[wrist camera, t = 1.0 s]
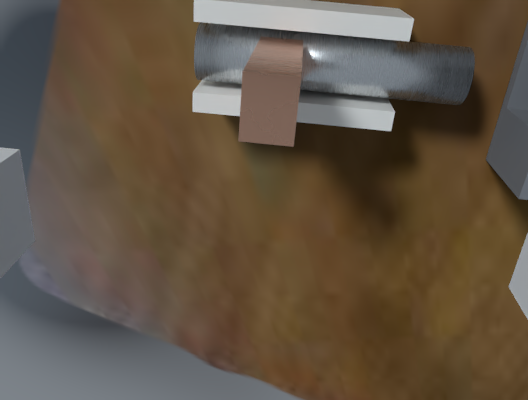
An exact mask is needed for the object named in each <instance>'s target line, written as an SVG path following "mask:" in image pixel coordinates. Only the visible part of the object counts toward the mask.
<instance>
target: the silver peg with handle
mask: <svg viewBox="0 0 528 400" xmlns="http://www.w3.org/2000/svg"><path fill="white" fill-rule="evenodd" d="M474 65H475V59H474V52H473V50H472V48H471V47H463V46H452V45H441V44H431V43H420V42H408V41H397V40H386V39H376V38H365V37H354V36H343V35H333V34H322V33H311V32H300V31H290V30H279V29H268V28H258V27H247V26H236V25H225V24H215V23H204V22H200V24H199V26H198V29H197V33H196V40H195V51H194V66H195V75H196V78H197V80H204V81H215V82H225V83H235V84H242V88H241V105H240V123H239V140H238V141H241V142H251V143H261V144H271V145H281V146H291V147H294V139H295V130H296V121H297V112H298V103H299V94H300V90H307V91H317V92H328V93H338V94H348V95H358V96H369V97H379V98H389V99H400V100H410V101H420V102H430V103H441V104H451V105H461V104H462V103H463V102H464V100H465V99H466V97H467V95H468V92H469V90H470V87H471V83H472V79H473V74H474Z"/></svg>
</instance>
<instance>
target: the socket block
mask: <svg viewBox="0 0 528 400" xmlns="http://www.w3.org/2000/svg"><path fill="white" fill-rule="evenodd" d="M486 160H487V162H488V163H489V164H490V165H491V166H492V168H493V169H494V170H495V171H496V172H497V174H498V175H499V176H500V177H501V178H502V180H503V181H504V182H505V183H506V184H507V186H508V187H509V188H510V189H511V190H512V192H513V193H514V194H515V195H516V196H517V198H518V199H524V200H528V22H527V25H526V29H525V32H524V35H523V39H522V42H521V45H520V49H519V52H518V55H517V58H516V62H515V65H514V68H513V72H512V75H511V78H510V82H509V85H508V88H507V91H506V95H505V98H504V101H503V105H502V108H501V111H500V115H499V118H498V121H497V124H496V128H495V131H494V134H493V138H492V141H491V144H490V148H489V151H488V154H487V157H486Z"/></svg>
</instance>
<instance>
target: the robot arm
mask: <svg viewBox="0 0 528 400" xmlns="http://www.w3.org/2000/svg"><path fill="white" fill-rule="evenodd" d="M34 242H35V236H34V230H33V224H32V219H31V213H30V207H29V201H28V195H27V189H26V184H25V178H24V172H23V166H22V160H21V155H20V150H19V149H9V148H0V278H1V277H2V276H3V275H4V274H5V273H6V272H7V271H8V270H9V269H10V268H11V267H12V265H13V264H14V263H15V262H16V261H17V260H18V259H19V258H20V257H21V256H22V255H23V254H24V253H25V251H26V250H27V249H28V248H29V247H30V246H31V245H32V244H33V243H34ZM509 289H510V290H511V292H512V294H513V295H514V297H515V299H516V300H517V302H518V304H519V306H520V307H521V309H522V311H523V312H524V314H525V316H526V317H527V319H528V233H527V236H526V239H525V242H524V245H523V248H522V250H521V253H520V256H519V259H518V262H517V264H516V267H515V270H514V273H513V276H512V279H511V281H510V284H509Z"/></svg>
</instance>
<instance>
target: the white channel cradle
mask: <svg viewBox="0 0 528 400" xmlns="http://www.w3.org/2000/svg"><path fill="white" fill-rule="evenodd" d="M194 22H204V23H215V24H225V25H236V26H247V27H258V28H268V29H279V30H290V31H300V32H311V33H322V34H333V35H343V36H354V37H365V38H376V39H386V40H397V41H408V42H409V41H410V36H411V32H412V27H413V22H414V18H412V17H411V16H409V15H408V14H406V13H405V12H404V11H402V10H401V9H399V8H388V7H377V6H366V5H355V4H344V3H333V2H322V1H311V0H194ZM241 88H242V84H235V83H225V82H215V81H204V80H202V81H201V82H200V84H199V85H198V86H197V87H196V89H195V90H194V91H193V112H202V113H212V114H222V115H232V116H240V105H241ZM394 115H395V111H394V109H393V107H392V105H391V103H390V101H389V99H388V98H379V97H369V96H358V95H348V94H338V93H328V92H317V91H307V90H300V94H299V103H298V112H297V121H296V122H302V123H312V124H322V125H332V126H342V127H352V128H362V129H372V130H382V131H391V130H392V125H393V120H394Z"/></svg>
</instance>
